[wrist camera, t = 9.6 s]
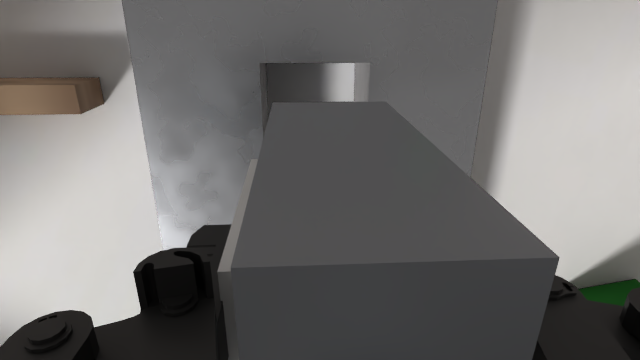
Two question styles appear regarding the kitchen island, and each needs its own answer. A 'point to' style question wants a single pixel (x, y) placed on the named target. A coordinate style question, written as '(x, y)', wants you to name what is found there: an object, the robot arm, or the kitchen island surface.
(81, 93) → the wooden planks
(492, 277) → the plug
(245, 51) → the port block
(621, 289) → the milk carton
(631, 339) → the robot arm
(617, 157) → the kitchen island surface
